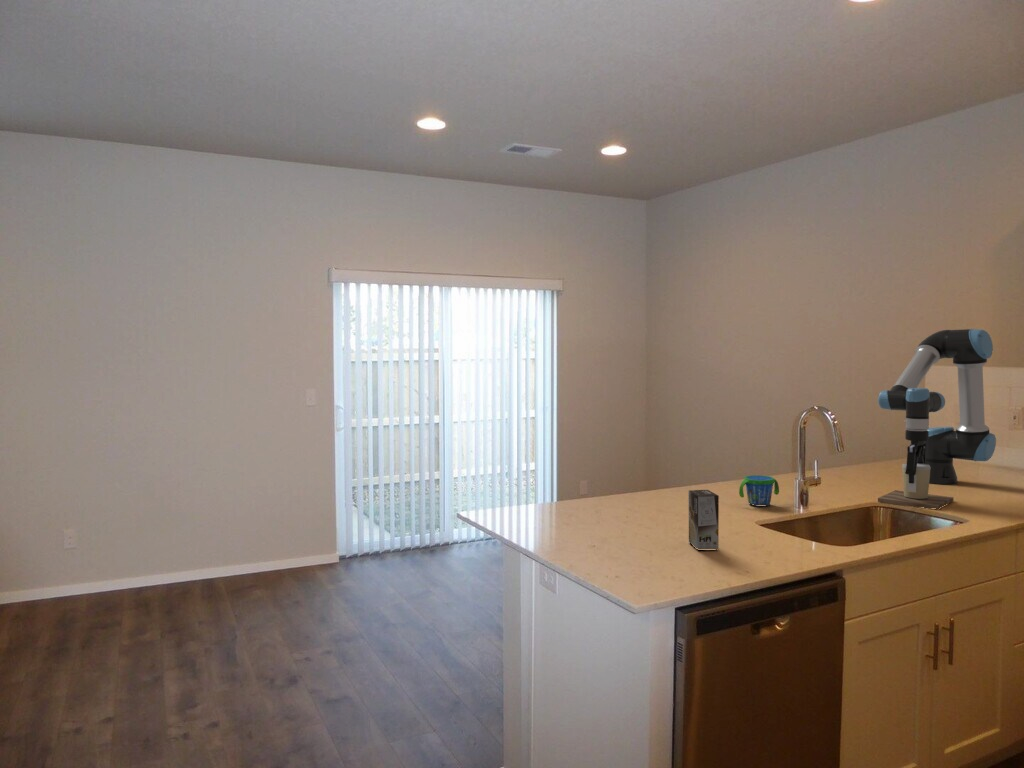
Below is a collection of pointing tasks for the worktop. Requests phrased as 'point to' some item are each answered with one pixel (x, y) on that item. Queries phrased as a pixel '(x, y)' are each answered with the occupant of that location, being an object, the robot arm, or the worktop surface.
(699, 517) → the coffee box
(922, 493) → the coffee cup
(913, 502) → the walnut board
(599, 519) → the worktop surface
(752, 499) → the snack cup
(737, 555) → the worktop surface
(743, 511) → the worktop surface
